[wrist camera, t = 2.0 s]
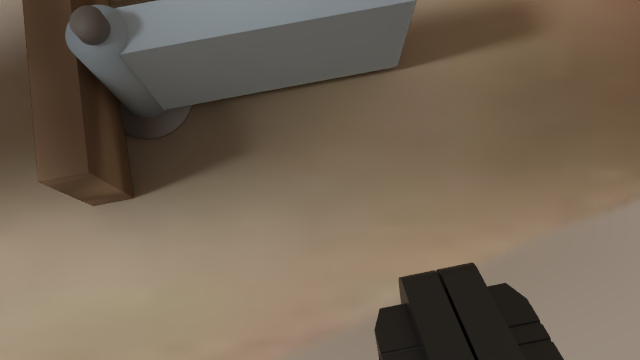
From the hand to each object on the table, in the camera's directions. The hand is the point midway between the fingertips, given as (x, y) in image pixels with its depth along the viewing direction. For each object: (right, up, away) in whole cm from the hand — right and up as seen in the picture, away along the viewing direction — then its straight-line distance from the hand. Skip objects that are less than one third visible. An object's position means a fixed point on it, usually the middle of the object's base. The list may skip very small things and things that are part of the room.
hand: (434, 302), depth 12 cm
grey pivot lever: (-6, +8, +20) cm, 23 cm away
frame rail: (-13, +9, +21) cm, 26 cm away
